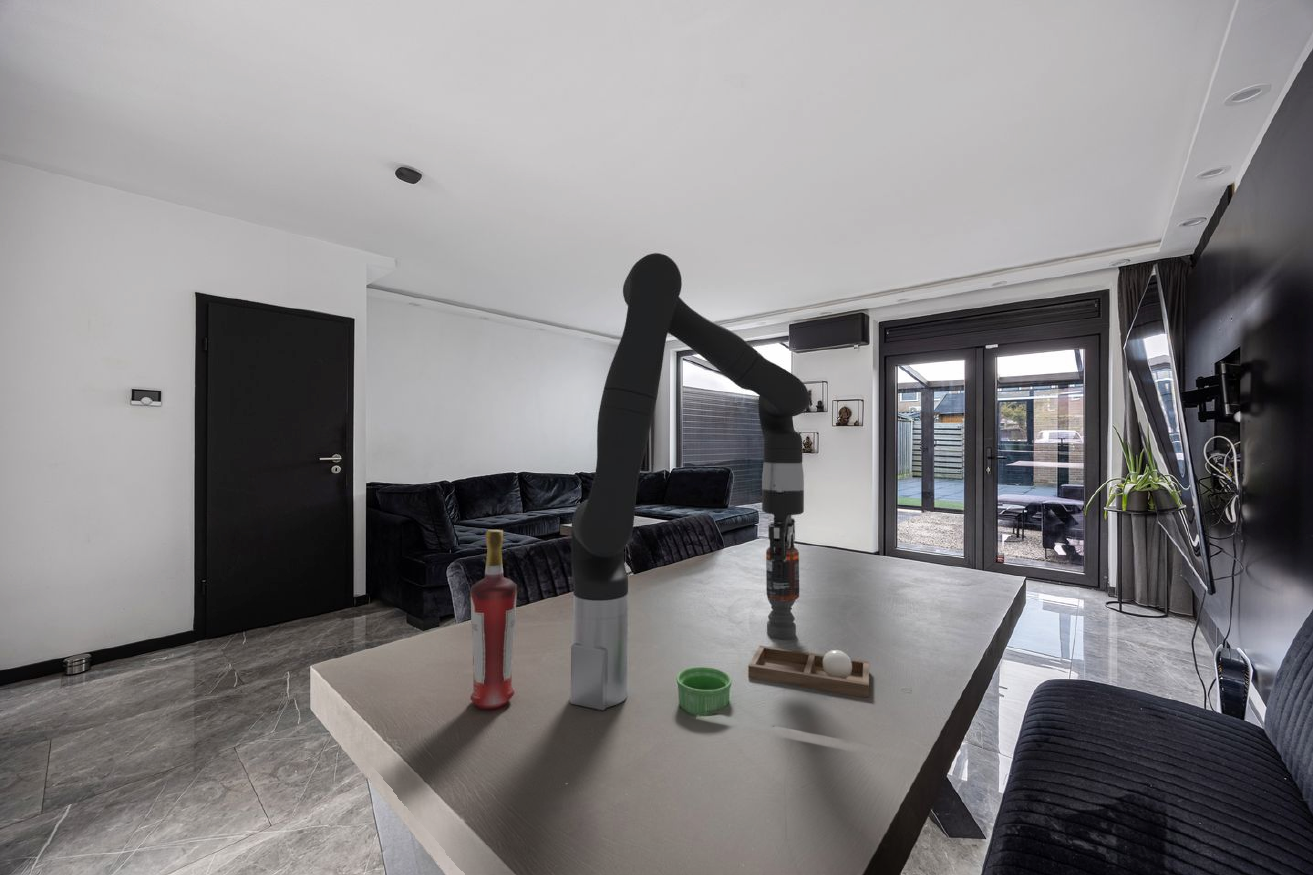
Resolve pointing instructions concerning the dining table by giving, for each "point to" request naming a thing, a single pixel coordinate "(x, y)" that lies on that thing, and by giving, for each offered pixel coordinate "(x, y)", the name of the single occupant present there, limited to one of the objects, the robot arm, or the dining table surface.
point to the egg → (837, 664)
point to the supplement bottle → (791, 586)
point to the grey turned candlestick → (781, 617)
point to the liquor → (493, 629)
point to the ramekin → (703, 690)
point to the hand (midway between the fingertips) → (782, 578)
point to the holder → (807, 671)
